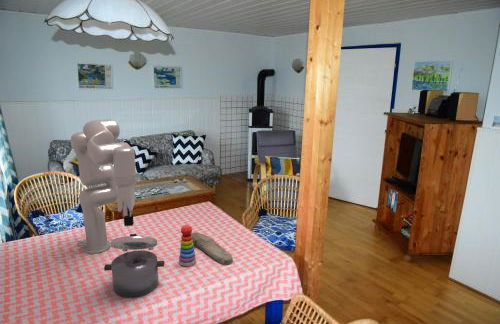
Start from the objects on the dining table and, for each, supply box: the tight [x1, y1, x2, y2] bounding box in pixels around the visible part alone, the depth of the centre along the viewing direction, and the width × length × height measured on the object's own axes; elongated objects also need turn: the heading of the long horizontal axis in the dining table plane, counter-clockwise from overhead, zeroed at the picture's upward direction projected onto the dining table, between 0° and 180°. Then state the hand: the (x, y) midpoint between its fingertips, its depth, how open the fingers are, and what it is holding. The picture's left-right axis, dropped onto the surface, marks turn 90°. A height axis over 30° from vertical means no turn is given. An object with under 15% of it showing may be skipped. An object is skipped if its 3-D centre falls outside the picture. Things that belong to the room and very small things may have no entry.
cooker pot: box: [103, 247, 165, 299], centre depth 147 cm, size 24×19×12 cm
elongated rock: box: [191, 231, 234, 266], centre depth 177 cm, size 35×5×10 cm
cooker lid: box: [110, 233, 158, 251], centre depth 146 cm, size 18×18×4 cm
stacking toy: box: [178, 224, 197, 267], centre depth 163 cm, size 8×8×19 cm
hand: (129, 225), depth 136 cm, fingers closed
